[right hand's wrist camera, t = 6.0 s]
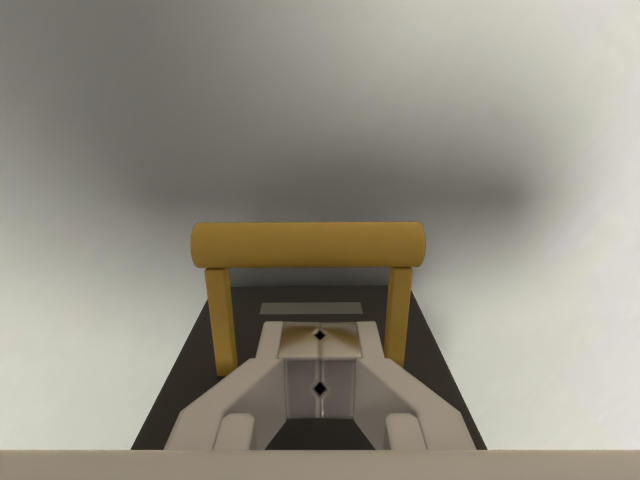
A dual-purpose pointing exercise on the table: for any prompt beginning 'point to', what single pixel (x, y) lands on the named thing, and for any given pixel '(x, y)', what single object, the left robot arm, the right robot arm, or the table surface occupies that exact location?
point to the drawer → (302, 317)
